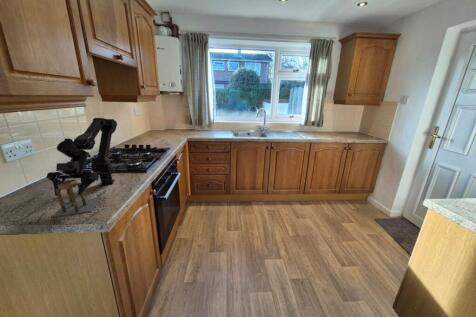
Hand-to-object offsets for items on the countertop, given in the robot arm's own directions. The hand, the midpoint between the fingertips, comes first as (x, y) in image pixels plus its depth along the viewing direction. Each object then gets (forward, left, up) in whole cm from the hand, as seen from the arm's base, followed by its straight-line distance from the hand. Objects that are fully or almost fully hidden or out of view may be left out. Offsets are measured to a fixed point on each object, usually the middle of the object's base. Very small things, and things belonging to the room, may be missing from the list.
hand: (67, 195), depth 87 cm
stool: (-2, 0, -8) cm, 8 cm away
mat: (-3, +1, -8) cm, 9 cm away
